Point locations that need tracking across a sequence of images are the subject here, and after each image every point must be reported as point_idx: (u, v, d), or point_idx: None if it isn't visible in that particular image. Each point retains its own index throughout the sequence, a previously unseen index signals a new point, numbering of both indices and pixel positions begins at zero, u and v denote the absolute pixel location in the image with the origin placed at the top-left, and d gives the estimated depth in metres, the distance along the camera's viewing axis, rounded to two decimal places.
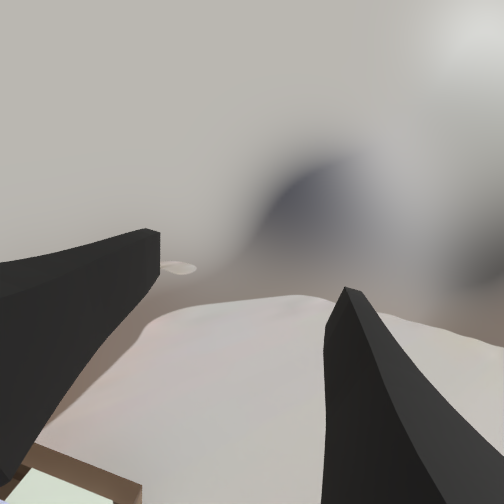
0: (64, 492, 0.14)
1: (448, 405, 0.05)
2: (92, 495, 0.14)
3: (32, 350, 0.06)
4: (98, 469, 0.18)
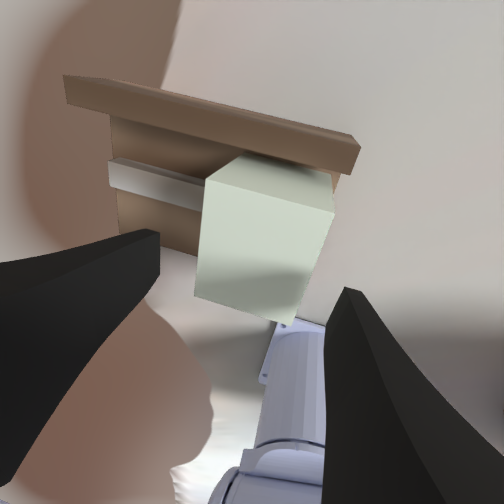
0: (264, 204, 0.10)
1: (448, 405, 0.05)
2: (303, 207, 0.10)
3: (32, 350, 0.06)
4: (287, 131, 0.11)
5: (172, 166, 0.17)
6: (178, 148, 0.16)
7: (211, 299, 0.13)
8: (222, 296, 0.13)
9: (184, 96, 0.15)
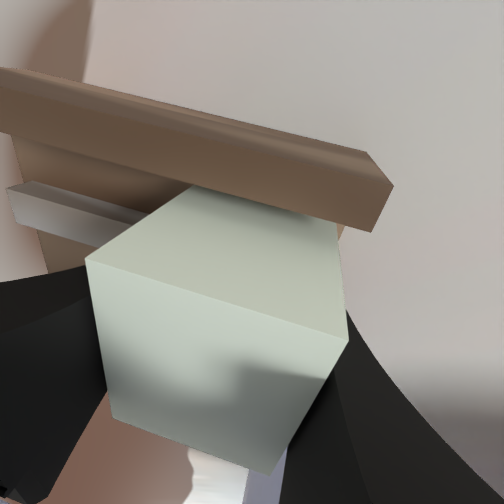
0: (204, 311, 0.05)
1: (395, 388, 0.05)
2: (282, 324, 0.05)
3: (73, 364, 0.06)
4: (259, 154, 0.06)
5: (104, 195, 0.11)
6: (109, 170, 0.11)
7: (139, 426, 0.08)
8: (155, 425, 0.08)
9: (112, 93, 0.10)
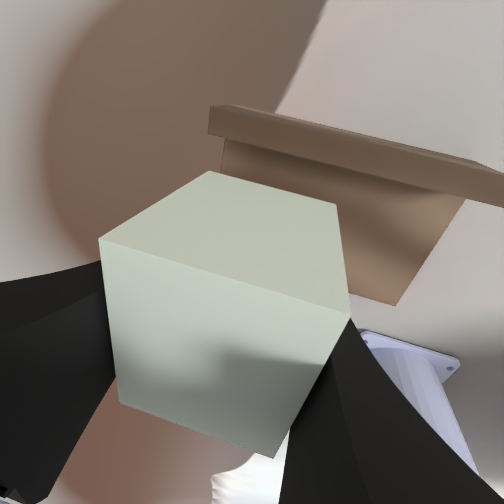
0: (212, 289, 0.05)
1: (395, 388, 0.05)
2: (287, 300, 0.05)
3: (73, 364, 0.06)
4: (446, 165, 0.12)
5: (282, 189, 0.17)
6: (293, 172, 0.16)
7: (146, 410, 0.08)
8: (162, 409, 0.08)
9: (304, 121, 0.15)
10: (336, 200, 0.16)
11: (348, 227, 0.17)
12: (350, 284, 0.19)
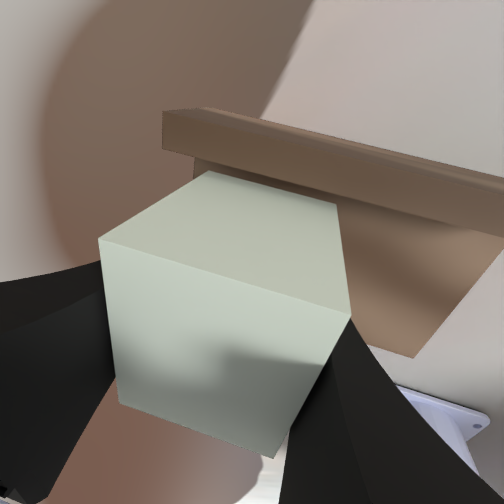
0: (212, 289, 0.05)
1: (395, 387, 0.05)
2: (287, 300, 0.05)
3: (73, 364, 0.06)
4: None
5: None
6: None
7: (146, 410, 0.08)
8: (161, 409, 0.08)
9: (299, 130, 0.12)
10: (340, 232, 0.13)
11: (356, 264, 0.13)
12: None
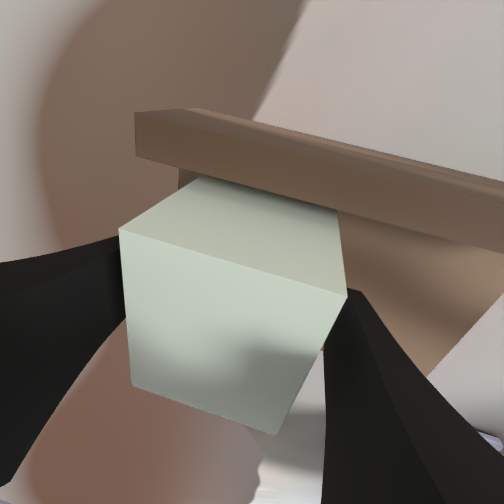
0: (222, 274, 0.06)
1: (448, 405, 0.05)
2: (290, 283, 0.05)
3: (32, 350, 0.06)
4: None
5: None
6: None
7: (157, 392, 0.09)
8: (172, 390, 0.09)
9: (296, 134, 0.10)
10: (342, 246, 0.11)
11: (359, 282, 0.12)
12: None
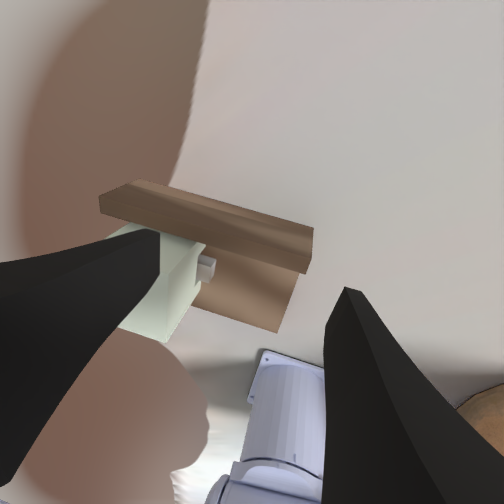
0: None
1: (448, 405, 0.05)
2: None
3: (32, 350, 0.06)
4: (260, 244, 0.16)
5: None
6: None
7: None
8: None
9: (186, 196, 0.20)
10: (216, 253, 0.21)
11: (229, 273, 0.22)
12: (241, 315, 0.24)
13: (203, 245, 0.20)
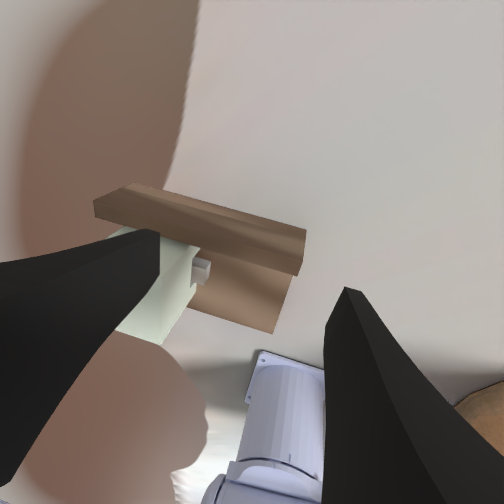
0: None
1: (448, 405, 0.05)
2: None
3: (32, 350, 0.06)
4: (252, 247, 0.16)
5: None
6: None
7: None
8: None
9: (181, 199, 0.20)
10: (211, 256, 0.21)
11: (224, 275, 0.22)
12: (236, 317, 0.24)
13: (197, 248, 0.20)
